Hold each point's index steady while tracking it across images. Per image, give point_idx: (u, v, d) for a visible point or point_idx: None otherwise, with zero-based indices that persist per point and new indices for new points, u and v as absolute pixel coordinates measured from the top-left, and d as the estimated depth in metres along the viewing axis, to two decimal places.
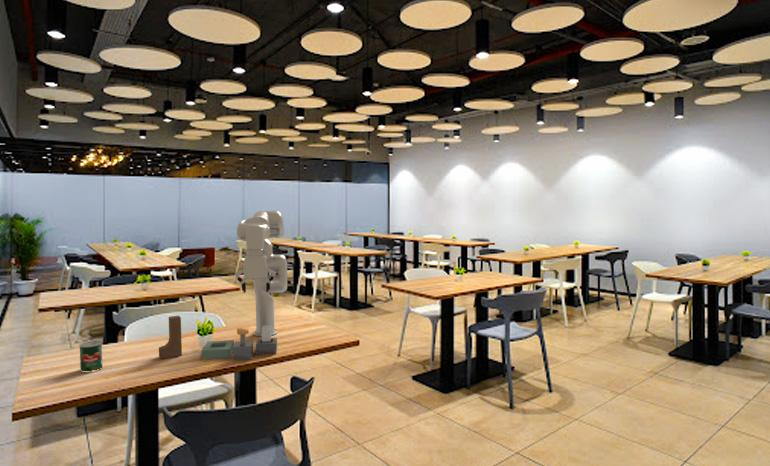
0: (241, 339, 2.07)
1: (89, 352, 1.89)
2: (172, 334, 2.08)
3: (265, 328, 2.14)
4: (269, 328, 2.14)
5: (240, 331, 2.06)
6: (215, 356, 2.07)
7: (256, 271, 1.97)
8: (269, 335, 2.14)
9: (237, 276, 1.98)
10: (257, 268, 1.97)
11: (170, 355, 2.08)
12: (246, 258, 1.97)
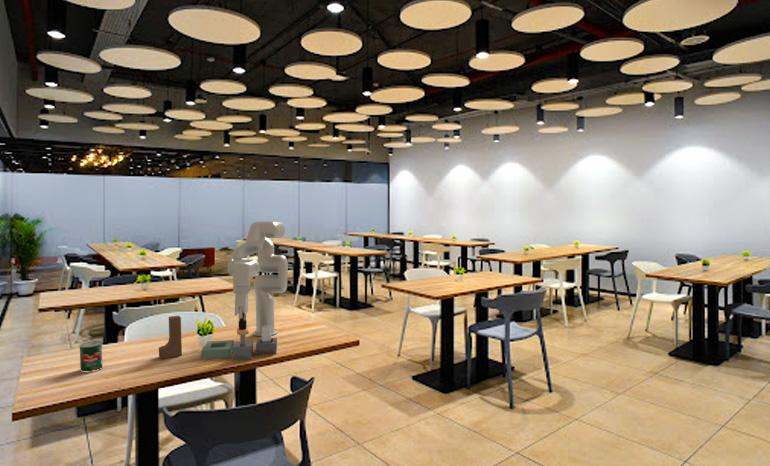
0: (241, 339, 2.07)
1: (89, 352, 1.89)
2: (172, 334, 2.08)
3: (265, 328, 2.14)
4: (269, 328, 2.14)
5: (240, 332, 2.06)
6: (215, 356, 2.07)
7: (247, 305, 2.08)
8: (269, 335, 2.14)
9: (242, 317, 2.04)
10: None
11: (170, 355, 2.08)
12: (245, 295, 2.04)
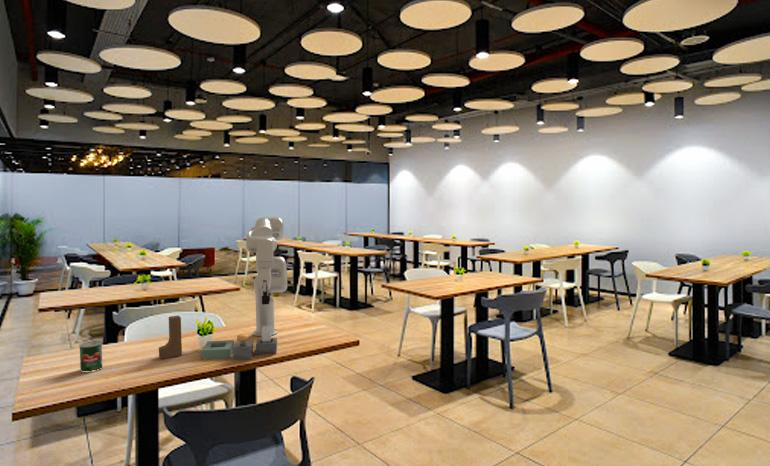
0: None
1: (89, 352, 1.89)
2: (172, 334, 2.08)
3: (265, 328, 2.14)
4: (269, 328, 2.14)
5: (240, 338, 2.06)
6: (215, 356, 2.07)
7: None
8: (269, 335, 2.14)
9: (266, 291, 2.09)
10: None
11: (170, 355, 2.08)
12: (269, 269, 2.11)
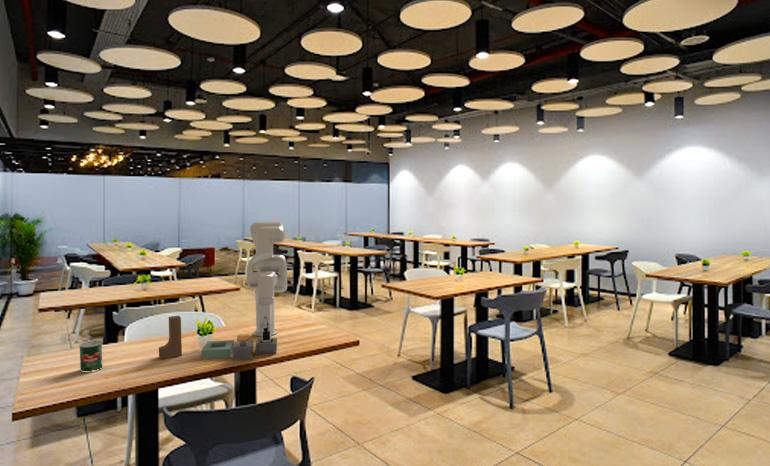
0: None
1: (89, 352, 1.89)
2: (172, 334, 2.08)
3: None
4: (269, 328, 2.14)
5: (240, 338, 2.06)
6: (215, 356, 2.07)
7: (271, 316, 2.16)
8: None
9: (266, 327, 2.10)
10: None
11: (170, 355, 2.08)
12: (270, 306, 2.12)
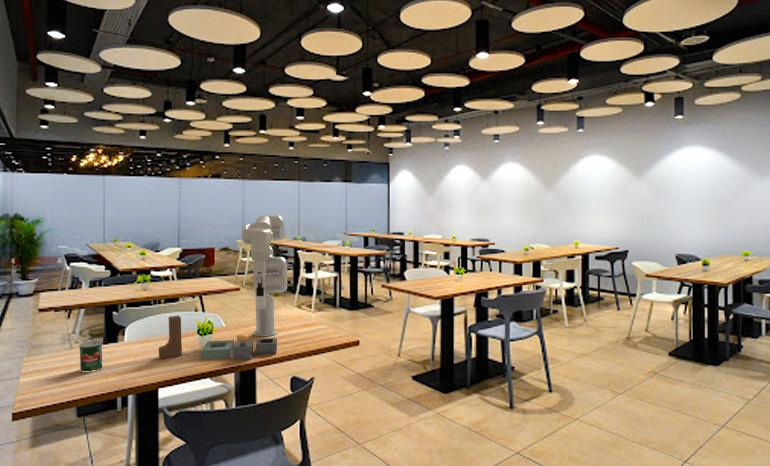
0: None
1: (89, 352, 1.89)
2: (172, 334, 2.08)
3: None
4: (263, 284, 2.12)
5: (240, 338, 2.06)
6: (215, 356, 2.07)
7: (265, 272, 2.15)
8: None
9: (260, 282, 2.09)
10: (265, 269, 2.15)
11: (170, 355, 2.08)
12: (263, 261, 2.10)
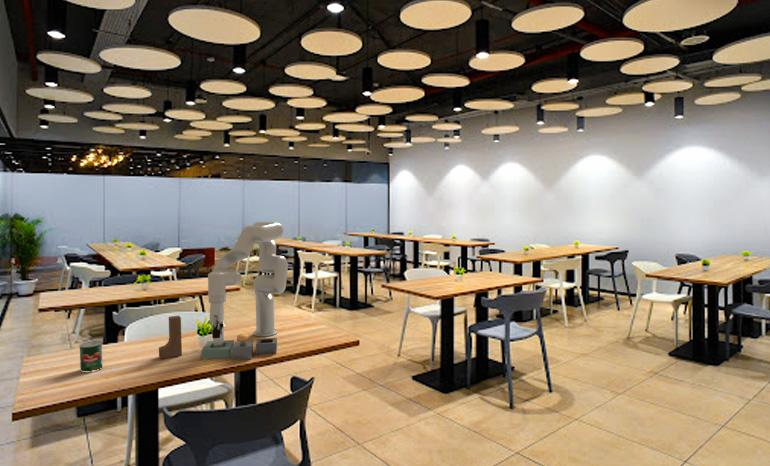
0: None
1: (89, 352, 1.89)
2: (172, 334, 2.08)
3: None
4: (221, 330, 2.11)
5: (240, 338, 2.06)
6: (215, 356, 2.07)
7: (223, 314, 2.13)
8: (221, 337, 2.11)
9: (216, 324, 2.05)
10: (223, 311, 2.13)
11: (170, 355, 2.08)
12: (220, 304, 2.09)
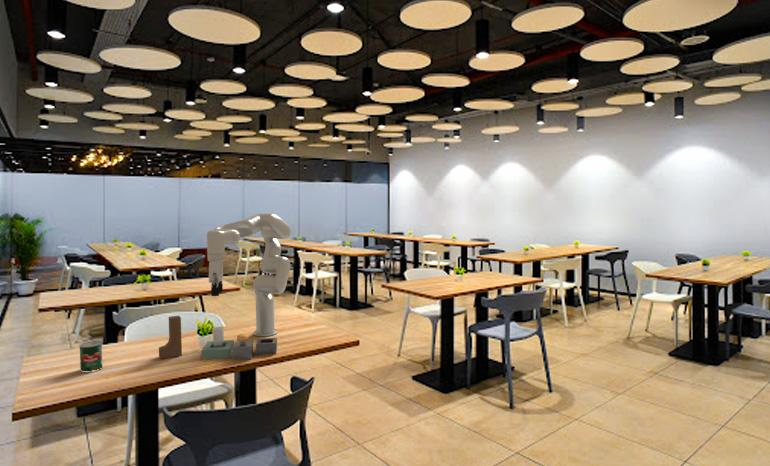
0: None
1: (89, 352, 1.89)
2: (172, 334, 2.08)
3: (216, 330, 2.11)
4: (221, 330, 2.11)
5: (240, 338, 2.06)
6: (215, 356, 2.07)
7: (222, 273, 2.12)
8: (221, 337, 2.11)
9: (215, 281, 2.04)
10: (222, 270, 2.12)
11: (170, 355, 2.08)
12: (219, 262, 2.08)
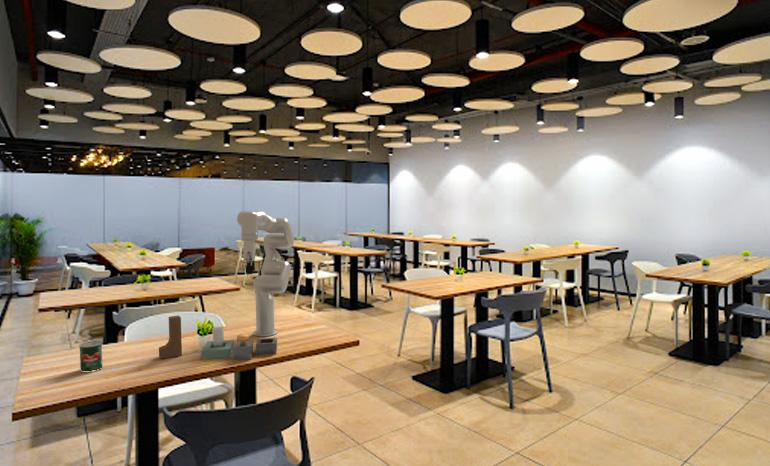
0: None
1: (89, 352, 1.89)
2: (172, 334, 2.08)
3: (216, 330, 2.11)
4: (221, 330, 2.11)
5: (240, 338, 2.06)
6: (215, 356, 2.07)
7: None
8: (221, 337, 2.11)
9: (249, 259, 2.16)
10: (255, 249, 2.24)
11: (170, 355, 2.08)
12: (253, 242, 2.19)
